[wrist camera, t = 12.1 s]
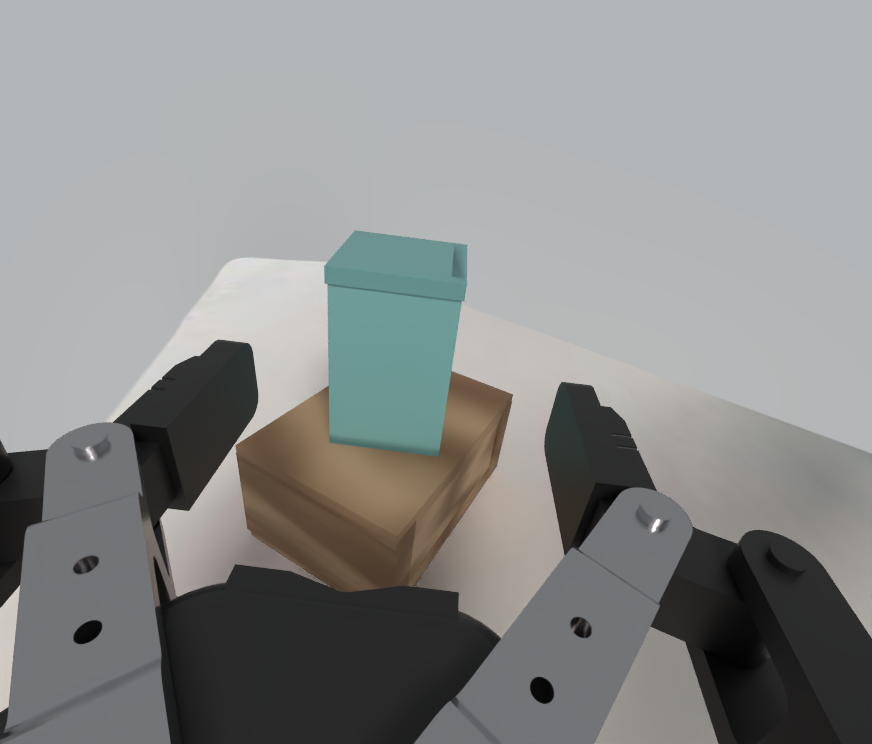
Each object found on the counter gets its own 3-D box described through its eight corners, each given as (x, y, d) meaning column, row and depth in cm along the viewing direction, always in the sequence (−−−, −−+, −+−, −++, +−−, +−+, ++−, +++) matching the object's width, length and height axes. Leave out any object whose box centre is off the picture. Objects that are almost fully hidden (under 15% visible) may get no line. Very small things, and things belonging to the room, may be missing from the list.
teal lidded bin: (352, 383, 30) (354, 230, 25) (445, 395, 30) (467, 244, 25) (327, 444, 25) (324, 266, 20) (440, 458, 25) (466, 284, 20)
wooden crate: (384, 420, 39) (388, 347, 35) (495, 471, 35) (513, 394, 31) (248, 534, 28) (235, 444, 24) (389, 627, 24) (398, 537, 20)
